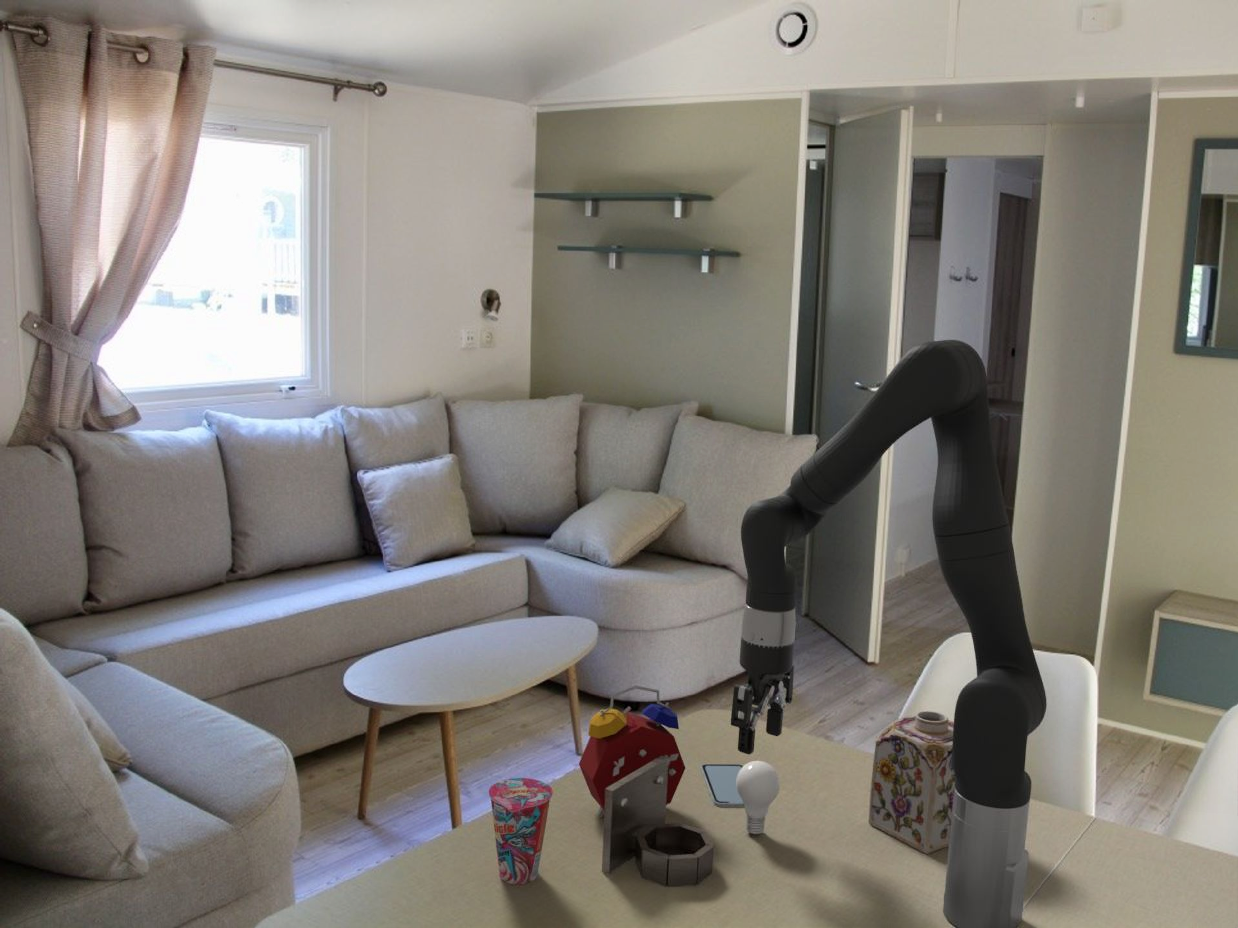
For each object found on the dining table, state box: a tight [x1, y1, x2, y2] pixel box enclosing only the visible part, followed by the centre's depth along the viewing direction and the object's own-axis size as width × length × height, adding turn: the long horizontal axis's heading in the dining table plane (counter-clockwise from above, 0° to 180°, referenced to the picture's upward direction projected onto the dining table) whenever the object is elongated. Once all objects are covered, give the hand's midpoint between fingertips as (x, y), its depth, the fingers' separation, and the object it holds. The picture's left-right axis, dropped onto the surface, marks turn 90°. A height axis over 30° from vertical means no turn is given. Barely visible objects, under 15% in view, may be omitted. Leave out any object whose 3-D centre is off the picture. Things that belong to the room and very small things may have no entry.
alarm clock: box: [578, 685, 686, 818], centre depth 182 cm, size 15×9×20 cm, turn 111°
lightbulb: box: [736, 760, 781, 836], centre depth 179 cm, size 6×6×11 cm
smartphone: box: [700, 763, 745, 808], centre depth 196 cm, size 7×1×15 cm
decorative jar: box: [868, 710, 955, 855], centre depth 182 cm, size 12×12×18 cm
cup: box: [488, 777, 554, 885], centre depth 164 cm, size 9×8×12 cm
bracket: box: [601, 756, 715, 888], centre depth 169 cm, size 12×14×12 cm
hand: (759, 743), depth 178 cm, fingers open, 8 cm apart
